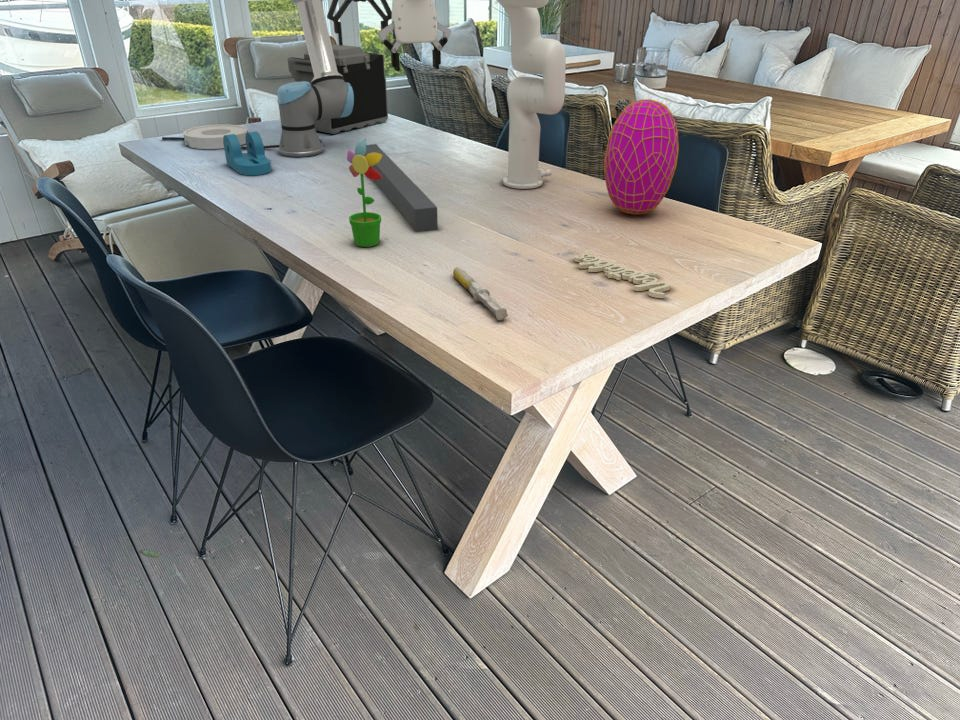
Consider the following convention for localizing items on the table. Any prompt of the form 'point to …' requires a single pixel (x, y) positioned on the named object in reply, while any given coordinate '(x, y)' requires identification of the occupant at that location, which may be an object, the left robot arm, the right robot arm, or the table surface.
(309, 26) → the left robot arm
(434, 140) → the table surface
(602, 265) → the decorative sign
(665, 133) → the decorative egg
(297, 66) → the electronic device
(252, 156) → the camera mount
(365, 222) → the potted flower
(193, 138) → the ashtray
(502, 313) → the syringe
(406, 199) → the post
